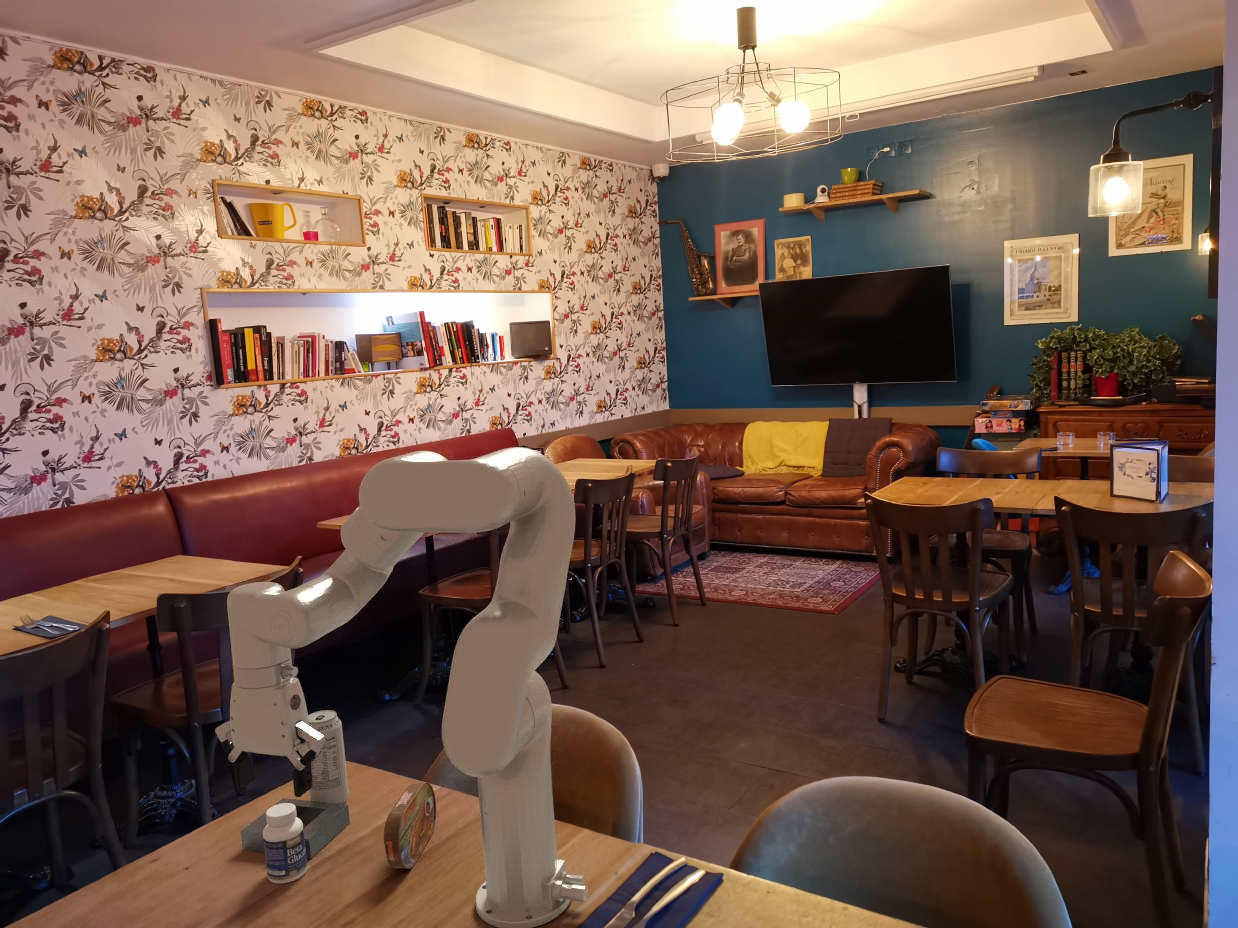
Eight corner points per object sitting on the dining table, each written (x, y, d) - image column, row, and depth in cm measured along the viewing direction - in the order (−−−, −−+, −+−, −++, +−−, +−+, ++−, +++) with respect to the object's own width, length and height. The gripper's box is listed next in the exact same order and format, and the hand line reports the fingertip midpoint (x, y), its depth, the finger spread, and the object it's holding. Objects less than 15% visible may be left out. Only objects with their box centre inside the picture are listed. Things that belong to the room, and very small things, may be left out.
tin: (405, 880, 124) (399, 824, 123) (383, 880, 124) (377, 823, 123) (439, 823, 139) (435, 772, 138) (420, 822, 139) (415, 772, 138)
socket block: (350, 822, 140) (348, 804, 140) (311, 858, 131) (309, 839, 130) (285, 815, 144) (283, 797, 143) (242, 849, 134) (240, 830, 134)
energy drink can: (355, 793, 150) (346, 708, 148) (340, 811, 144) (331, 723, 142) (320, 793, 150) (311, 708, 149) (304, 812, 145) (295, 724, 143)
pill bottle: (294, 886, 124) (287, 820, 123) (260, 883, 125) (252, 818, 124) (315, 863, 129) (308, 800, 128) (281, 861, 131) (274, 798, 129)
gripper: (333, 667, 125) (342, 782, 127) (230, 658, 130) (241, 769, 132) (300, 687, 117) (310, 809, 120) (192, 677, 122) (204, 794, 125)
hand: (274, 788), depth 126 cm, fingers open, 9 cm apart
